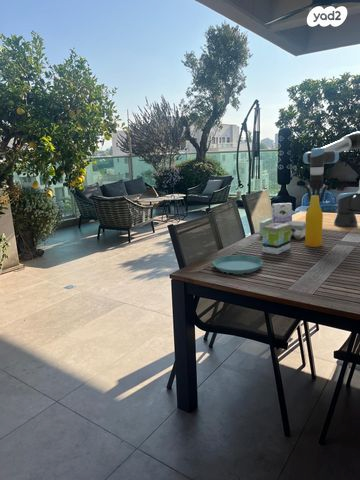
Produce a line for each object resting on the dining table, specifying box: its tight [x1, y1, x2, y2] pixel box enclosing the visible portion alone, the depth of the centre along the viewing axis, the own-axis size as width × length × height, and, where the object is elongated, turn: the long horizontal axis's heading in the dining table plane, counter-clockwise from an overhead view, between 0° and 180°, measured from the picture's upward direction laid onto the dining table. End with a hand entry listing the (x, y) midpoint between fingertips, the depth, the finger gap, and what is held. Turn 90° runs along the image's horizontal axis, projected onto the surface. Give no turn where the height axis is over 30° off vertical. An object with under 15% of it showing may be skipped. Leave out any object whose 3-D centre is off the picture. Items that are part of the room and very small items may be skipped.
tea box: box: [262, 223, 292, 255], centre depth 196 cm, size 15×10×15 cm, turn 137°
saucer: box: [212, 254, 264, 275], centre depth 171 cm, size 24×24×3 cm
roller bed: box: [291, 227, 306, 240], centre depth 226 cm, size 13×16×6 cm
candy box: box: [271, 202, 293, 224], centre depth 263 cm, size 14×6×16 cm, turn 84°
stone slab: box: [285, 220, 306, 230], centre depth 225 cm, size 12×14×2 cm
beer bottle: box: [304, 194, 324, 248], centre depth 200 cm, size 9×9×29 cm
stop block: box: [259, 217, 273, 237], centre depth 237 cm, size 3×16×10 cm, turn 144°
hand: (315, 212), depth 216 cm, fingers closed
